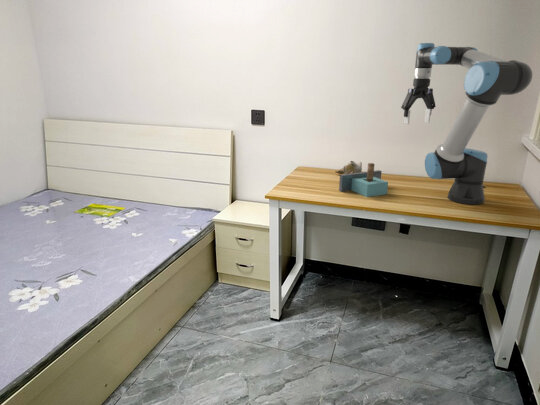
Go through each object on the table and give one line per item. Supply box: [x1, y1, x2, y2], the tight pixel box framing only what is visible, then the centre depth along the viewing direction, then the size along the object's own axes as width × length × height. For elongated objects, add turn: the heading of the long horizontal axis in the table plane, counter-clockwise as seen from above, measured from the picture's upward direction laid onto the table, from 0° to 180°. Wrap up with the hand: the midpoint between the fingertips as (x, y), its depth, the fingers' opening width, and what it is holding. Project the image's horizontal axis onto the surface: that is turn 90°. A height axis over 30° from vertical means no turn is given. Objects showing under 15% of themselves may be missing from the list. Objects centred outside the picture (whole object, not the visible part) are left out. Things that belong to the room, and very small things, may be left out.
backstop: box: [338, 169, 382, 193], centre depth 196 cm, size 2×24×8 cm, turn 115°
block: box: [350, 177, 389, 198], centre depth 191 cm, size 12×12×6 cm
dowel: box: [366, 162, 375, 182], centre depth 189 cm, size 3×3×14 cm
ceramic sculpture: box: [334, 160, 363, 175], centre depth 221 cm, size 11×9×15 cm
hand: (416, 123), depth 195 cm, fingers open, 13 cm apart
